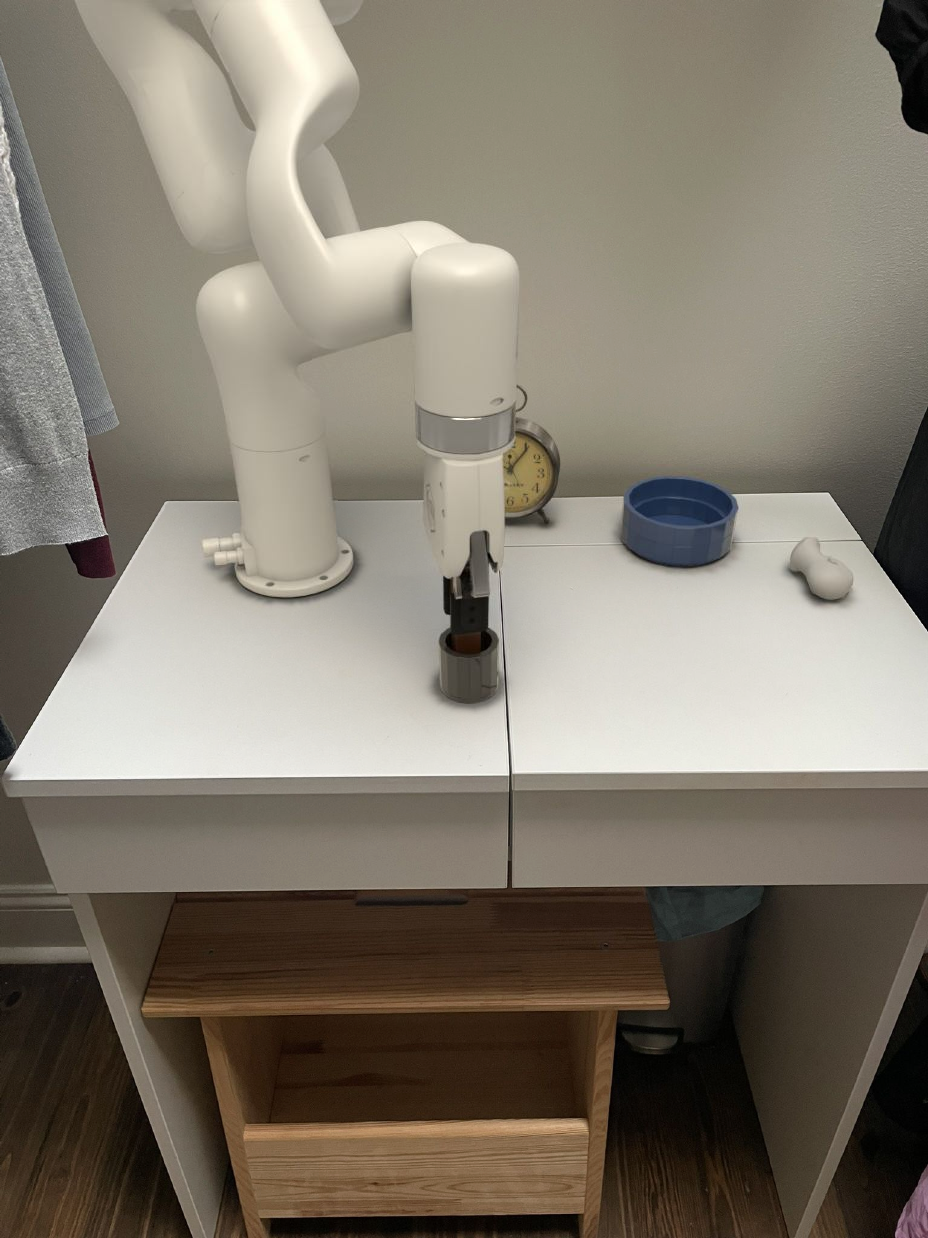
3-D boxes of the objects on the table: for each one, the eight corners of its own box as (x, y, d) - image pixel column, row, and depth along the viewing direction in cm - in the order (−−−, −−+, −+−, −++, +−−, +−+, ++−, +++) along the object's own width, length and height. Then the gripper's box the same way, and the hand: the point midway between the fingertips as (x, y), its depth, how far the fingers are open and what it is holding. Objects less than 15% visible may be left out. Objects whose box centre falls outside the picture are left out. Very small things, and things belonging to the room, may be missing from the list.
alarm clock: (460, 524, 109) (458, 390, 100) (468, 502, 114) (466, 372, 105) (555, 531, 108) (561, 395, 99) (559, 509, 112) (566, 376, 103)
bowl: (643, 575, 100) (648, 534, 97) (605, 521, 110) (608, 482, 107) (750, 561, 102) (757, 520, 99) (703, 509, 112) (709, 470, 109)
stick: (456, 679, 84) (455, 575, 77) (451, 664, 85) (449, 561, 79) (480, 676, 84) (481, 571, 78) (475, 661, 86) (475, 558, 79)
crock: (446, 707, 83) (445, 661, 80) (435, 671, 87) (433, 627, 84) (504, 698, 83) (505, 653, 81) (490, 663, 88) (490, 619, 85)
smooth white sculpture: (851, 614, 96) (808, 605, 94) (817, 571, 102) (777, 562, 101) (873, 579, 93) (829, 569, 92) (837, 537, 100) (796, 528, 98)
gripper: (399, 386, 77) (407, 577, 87) (436, 473, 64) (440, 685, 74) (489, 378, 78) (486, 568, 88) (543, 463, 65) (532, 672, 76)
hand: (465, 620), depth 81 cm, fingers closed on stick, 2 cm apart
